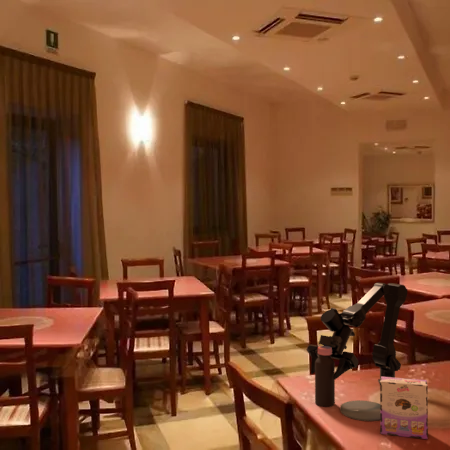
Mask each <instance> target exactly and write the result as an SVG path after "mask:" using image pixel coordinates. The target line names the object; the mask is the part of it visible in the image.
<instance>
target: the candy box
mask: <svg viewBox="0 0 450 450" xmlns="http://www.w3.org/2000/svg"><path fill="white" fill-rule="evenodd" d="M379 397H380V398H379V399H380V401H379V404H380V420H379V422H380V429H379V434H380V435H388V436H393V437H394V436H396V437H405V438H411V439H414V438H415V439H422V440H428V438H429V423H428V422H429V421H428V420H429V419H428V417H429V415H428V413H429V410H428V409H429V408H428V407H429V406H428V403H429V402H428V401H429V398H428V397H429V396H428V381H427V379H417V378H403V377H395V378H394V377H383V376H381V380H380V384H379Z"/></svg>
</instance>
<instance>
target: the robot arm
mask: <svg viewBox="0 0 450 450" xmlns="http://www.w3.org/2000/svg"><path fill="white" fill-rule="evenodd" d="M408 293H409V291H408V289H407V287H406V285H404V284H399V283H392V282H389V283H385V282H376V283H374V284H373V286H372V288H371V289H369V290H368V292H367V293H365V295H363V297H362V298H361V299H360V300H359V301H358V302H357V303H355V304H352V305H350V306H348V307H347V308H345V309H343V310H342V312H339V311H338V309H337V308H335V307H331V308H330V309H328V310H326V311H325V312H324V313H322V315H321V316H320V321H321V322H322V323H323V325H325V327H326V328H327V329H328V330H329V331H330V332H333V333H332V336H331V335H329V336H328V335H323V334H320V338H319V342H318V345H316V344H308V345H307V348H306V351H307V353H308V354H309V356H310V357H311V364H310V365H311V367H310V373H311V375H314V374H315V361H316V359H317V358H318V357H319V355H318V347H319V345H321V346H329V347H332V356H331V358H332V359H335V360H339V361H338V366H337V368H336V369H335V374H334V377H333V379H334V380H337V379H338V378H339V377H341V376H342V375H343V374H344V373H346V372H348V371H349V370H353V369H357V368H358V365H359V360H358V358H357V357H356V355H355V354H354V352H350V351H349V352H348V351H346V350H347V348H348V345H347V343H348V341H349V338H350V337H355V335H356V334H355V331H354V327H355V328H359V327H361V325H362V324H363V323H364V321H365V320H366V319H367V318H366V316H367V313H368V312H369V311H370V310H371V309H372V308H373V307H374V306H375V305H376V304H377V303H378V302H379V301H380V299H382V298H384V300H385V304H386V308H385V312H384V313H385V314H384V319H383V325H382V329H381V335H380V340H379V342H378V343H377V344H376V343H375V344H373V346H372V347H373V348H372V352H371V355H372V360H373V362H374V365H375V367H378V368H379V378H378V379H377V382H378V384H379V385H380V380H381V376H383V377H394V378H396V372H398V371H400V370H401V367H402V363H400V361H399V360H398V359H397V358H396V357H397V350H396V348H395V345H394V343H395V342H394V341H395V337H396V330H397V326H398V325H397V324H398V320H399V314H400V309H401V307H402V305H404V304H405V302H406V299H407V296H408ZM351 327H353V328H351Z"/></svg>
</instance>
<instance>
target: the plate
mask: <svg viewBox="0 0 450 450" xmlns="http://www.w3.org/2000/svg"><path fill="white" fill-rule="evenodd" d="M339 411H340V413H341V414H342V415H343V416H345V417H347V418H349V419H353V420H357V421H362V422H380V402H379V403H378V402H375V401H371V400H370V401H369V400H362V399H361V400H348V401H346V402H343V403H341V405H340V409H339Z"/></svg>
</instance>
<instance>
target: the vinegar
mask: <svg viewBox="0 0 450 450" xmlns="http://www.w3.org/2000/svg"><path fill="white" fill-rule="evenodd" d="M318 346H319V345H318ZM318 355H319V357H318V358H317V359H316V361H315V372H314V381H315V382H314V401H315V403H314V404H316V405H317V406H319V407H333V406H334V405H335V403H336V401H335V400H336V397H335V396H336V394H335V393H336V392H335V391H336V390H335V388H336V387H335V384H336V383H335V382H336V381H335V380H336V379H335V380H334V379H333V377H334V374H335V371H336V369H335V368H336V367H335V365H336V364H335V363H336V362H335V360H333V359H334V358H331V356H332V347H329V346H324V345H320V346H319V347H318Z"/></svg>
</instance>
